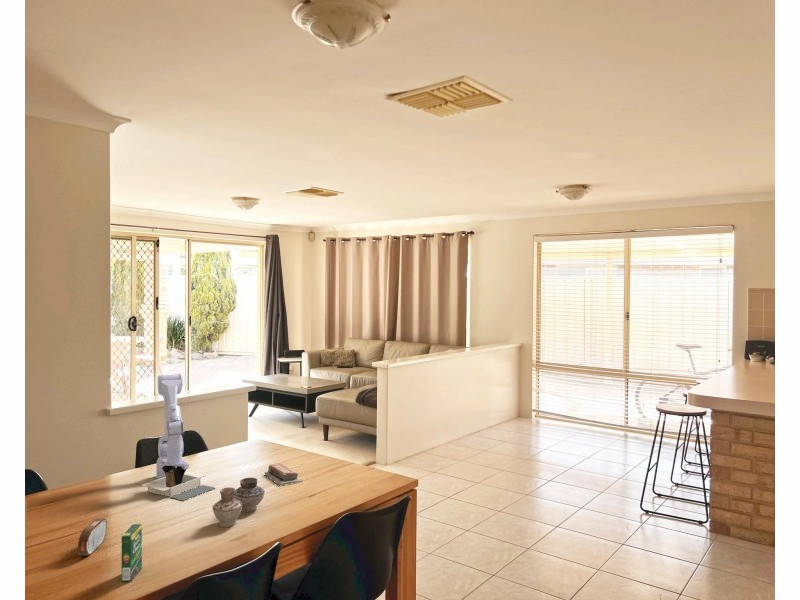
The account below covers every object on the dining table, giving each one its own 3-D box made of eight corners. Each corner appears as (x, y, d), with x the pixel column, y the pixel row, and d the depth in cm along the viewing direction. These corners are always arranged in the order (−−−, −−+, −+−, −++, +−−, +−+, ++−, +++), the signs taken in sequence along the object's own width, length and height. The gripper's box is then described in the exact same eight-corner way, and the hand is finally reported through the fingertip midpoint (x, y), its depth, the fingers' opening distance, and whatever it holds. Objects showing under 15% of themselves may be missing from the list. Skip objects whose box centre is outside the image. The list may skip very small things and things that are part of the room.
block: (165, 489, 231) (165, 472, 231) (176, 486, 236) (176, 469, 235) (172, 491, 229) (172, 473, 229) (182, 487, 234) (182, 470, 234)
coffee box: (131, 582, 157) (131, 535, 157) (120, 583, 157) (120, 535, 157) (142, 568, 165) (142, 523, 165) (132, 568, 165) (132, 523, 165)
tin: (98, 539, 185) (98, 513, 185) (108, 538, 185) (108, 513, 185) (76, 560, 170) (76, 532, 170) (87, 560, 170) (87, 532, 170)
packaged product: (263, 464, 251) (285, 461, 257) (263, 475, 251) (285, 471, 257) (280, 475, 236) (302, 471, 242) (280, 487, 236) (302, 482, 242)
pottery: (205, 528, 194) (205, 493, 194) (242, 502, 218) (242, 470, 218) (235, 531, 191) (235, 496, 191) (269, 505, 216) (269, 473, 216)
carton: (141, 493, 226) (141, 484, 226) (184, 478, 245) (184, 470, 245) (163, 499, 220) (163, 490, 220) (205, 483, 239) (206, 475, 239)
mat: (170, 498, 222) (170, 497, 222) (203, 485, 236) (203, 484, 236) (183, 501, 218) (183, 500, 218) (215, 488, 233) (215, 487, 233)
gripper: (154, 450, 232) (154, 483, 232) (178, 455, 225) (178, 489, 225) (168, 446, 238) (168, 478, 239) (193, 451, 231) (193, 484, 232)
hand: (174, 483), depth 232 cm, fingers closed on block, 4 cm apart
